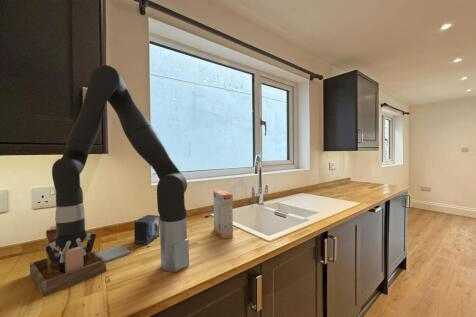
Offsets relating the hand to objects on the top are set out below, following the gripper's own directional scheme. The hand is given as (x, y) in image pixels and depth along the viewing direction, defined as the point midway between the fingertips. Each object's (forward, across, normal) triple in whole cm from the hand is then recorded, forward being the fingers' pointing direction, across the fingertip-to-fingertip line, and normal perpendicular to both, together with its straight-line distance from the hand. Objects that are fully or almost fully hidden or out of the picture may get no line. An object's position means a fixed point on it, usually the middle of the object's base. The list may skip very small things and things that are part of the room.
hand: (72, 268), depth 72 cm
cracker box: (+3, +58, -14) cm, 60 cm away
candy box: (+3, 0, +9) cm, 9 cm away
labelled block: (+3, 0, 0) cm, 3 cm away
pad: (+3, +14, +6) cm, 16 cm away
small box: (+3, +31, +8) cm, 32 cm away
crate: (+3, 0, +4) cm, 5 cm away
